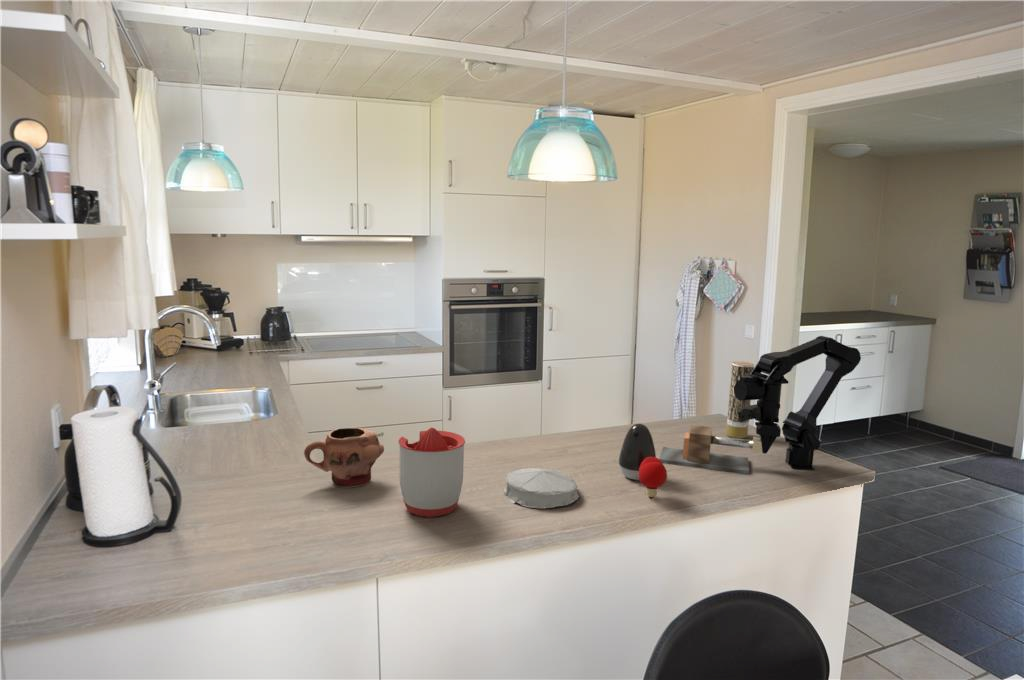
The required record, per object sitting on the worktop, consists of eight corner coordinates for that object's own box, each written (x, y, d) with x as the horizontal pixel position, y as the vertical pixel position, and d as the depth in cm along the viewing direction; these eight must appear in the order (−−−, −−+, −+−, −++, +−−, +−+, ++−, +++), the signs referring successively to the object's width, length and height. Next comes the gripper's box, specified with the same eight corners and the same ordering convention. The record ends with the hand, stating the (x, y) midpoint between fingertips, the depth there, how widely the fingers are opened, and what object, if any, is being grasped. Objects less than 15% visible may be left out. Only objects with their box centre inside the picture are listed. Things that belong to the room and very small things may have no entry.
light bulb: (668, 505, 166) (671, 466, 164) (640, 504, 166) (643, 465, 164) (661, 490, 175) (663, 454, 174) (634, 489, 175) (636, 453, 174)
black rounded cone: (612, 479, 182) (615, 425, 180) (624, 467, 191) (627, 416, 189) (648, 486, 178) (652, 431, 175) (659, 474, 187) (663, 422, 184)
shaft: (762, 450, 195) (764, 438, 194) (763, 453, 191) (764, 441, 191) (698, 442, 200) (699, 430, 200) (698, 445, 197) (699, 434, 196)
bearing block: (747, 460, 201) (750, 430, 199) (748, 474, 189) (751, 442, 188) (663, 450, 208) (665, 420, 207) (659, 462, 197) (661, 431, 195)
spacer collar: (688, 453, 203) (690, 432, 202) (687, 459, 197) (689, 438, 196) (684, 452, 203) (685, 432, 202) (682, 458, 198) (684, 438, 197)
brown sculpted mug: (309, 497, 164) (307, 443, 162) (301, 480, 175) (300, 428, 173) (389, 486, 172) (389, 434, 170) (377, 470, 183) (377, 421, 181)
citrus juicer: (427, 488, 172) (428, 413, 169) (477, 507, 161) (479, 427, 158) (379, 506, 160) (379, 425, 157) (430, 528, 149) (431, 442, 146)
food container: (491, 485, 177) (491, 461, 176) (560, 476, 184) (561, 453, 183) (518, 517, 158) (519, 490, 157) (594, 506, 165) (595, 480, 164)
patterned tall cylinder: (744, 433, 228) (751, 362, 224) (749, 440, 221) (756, 366, 217) (724, 432, 229) (730, 361, 225) (728, 438, 222) (734, 365, 218)
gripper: (739, 388, 202) (734, 438, 204) (739, 403, 184) (735, 457, 187) (778, 392, 198) (773, 443, 201) (783, 407, 181) (777, 462, 183)
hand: (764, 451), depth 193 cm, fingers closed on shaft, 4 cm apart
